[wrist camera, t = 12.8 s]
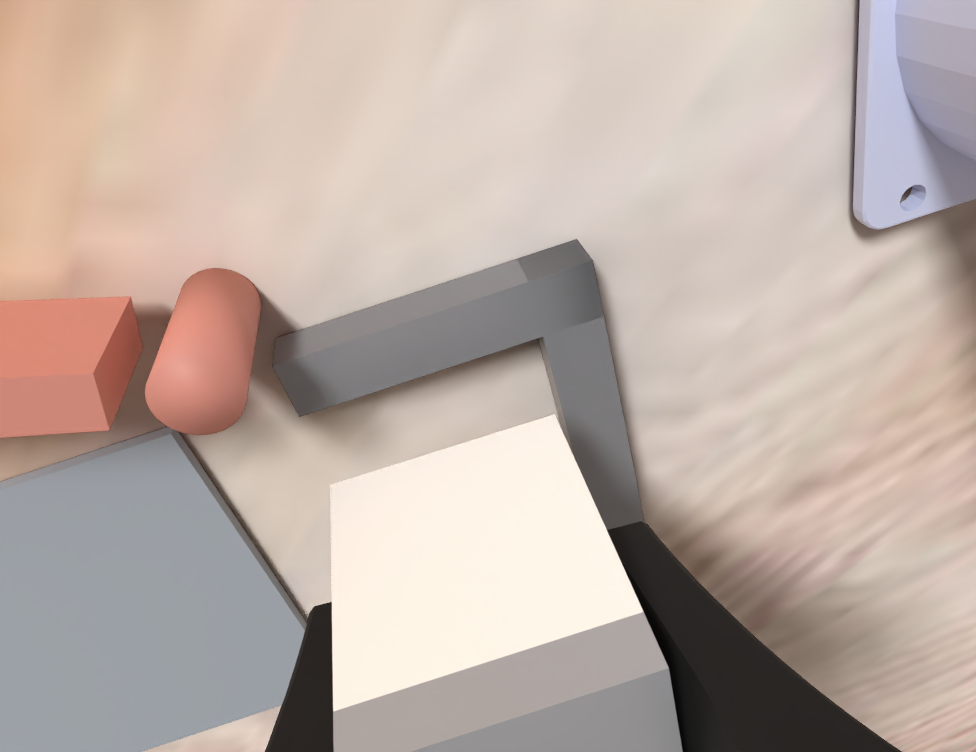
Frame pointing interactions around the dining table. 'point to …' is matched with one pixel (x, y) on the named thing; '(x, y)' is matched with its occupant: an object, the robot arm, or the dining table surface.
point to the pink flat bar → (128, 359)
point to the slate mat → (133, 604)
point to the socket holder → (479, 332)
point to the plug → (488, 609)
